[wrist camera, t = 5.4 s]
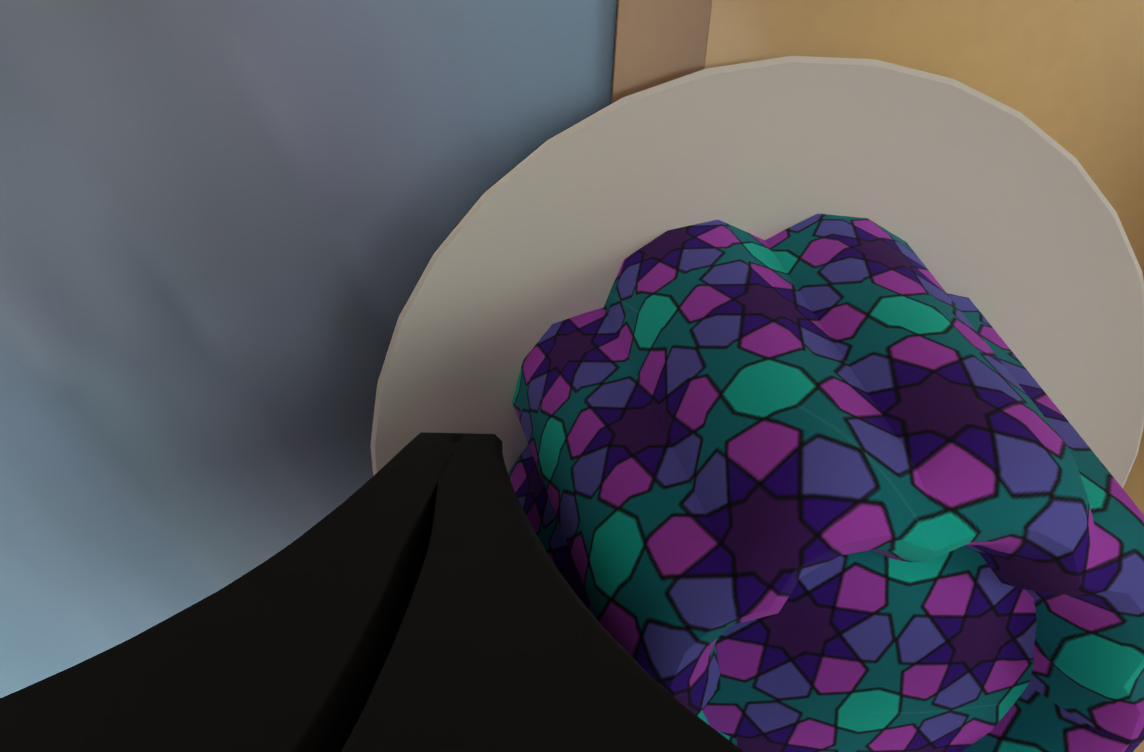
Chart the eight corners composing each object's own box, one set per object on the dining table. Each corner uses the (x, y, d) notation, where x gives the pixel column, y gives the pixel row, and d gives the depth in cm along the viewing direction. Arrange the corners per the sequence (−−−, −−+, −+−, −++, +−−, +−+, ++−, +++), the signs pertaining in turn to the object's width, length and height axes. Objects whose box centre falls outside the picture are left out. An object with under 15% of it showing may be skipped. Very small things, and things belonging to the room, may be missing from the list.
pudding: (961, 727, 14) (1174, 1057, 9) (377, 697, 13) (284, 1050, 8) (1259, 119, 10) (1983, 163, 5) (387, -6, 8) (189, -113, 4)
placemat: (1953, -365, 8) (1973, -370, 8) (1177, 857, 17) (1182, 863, 16) (649, -493, 7) (651, -503, 7) (560, 864, 16) (560, 870, 16)
